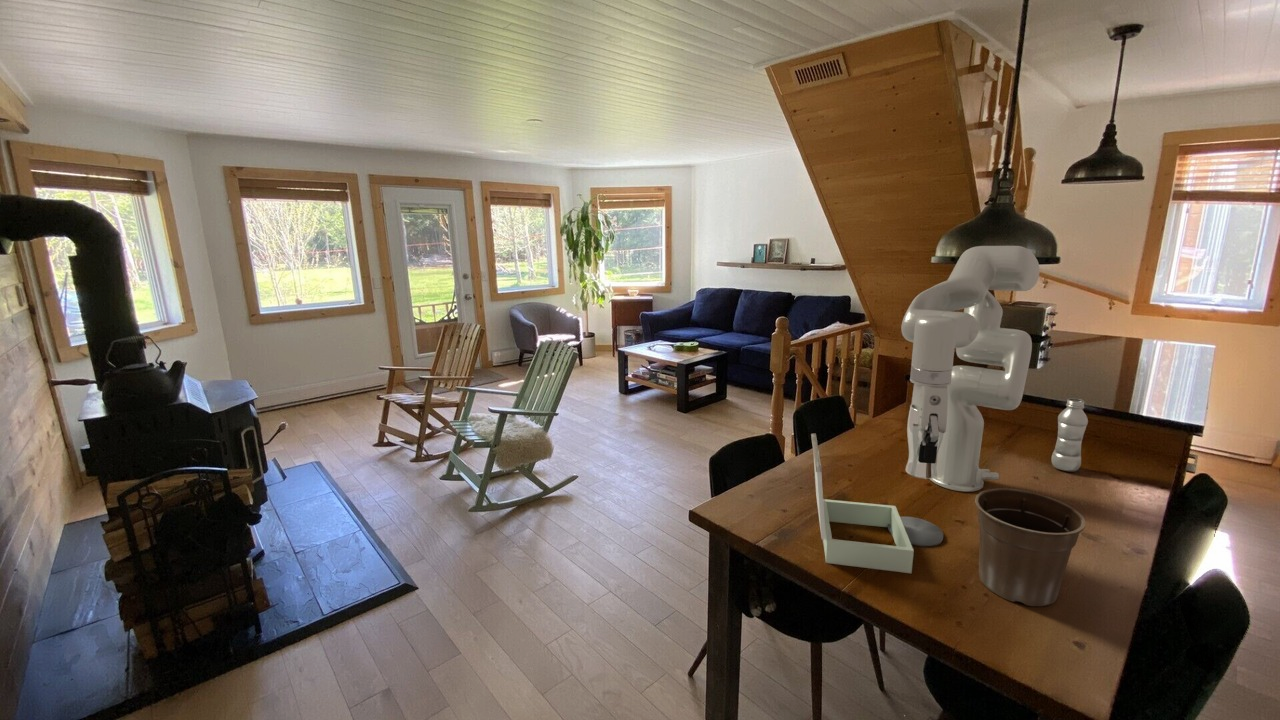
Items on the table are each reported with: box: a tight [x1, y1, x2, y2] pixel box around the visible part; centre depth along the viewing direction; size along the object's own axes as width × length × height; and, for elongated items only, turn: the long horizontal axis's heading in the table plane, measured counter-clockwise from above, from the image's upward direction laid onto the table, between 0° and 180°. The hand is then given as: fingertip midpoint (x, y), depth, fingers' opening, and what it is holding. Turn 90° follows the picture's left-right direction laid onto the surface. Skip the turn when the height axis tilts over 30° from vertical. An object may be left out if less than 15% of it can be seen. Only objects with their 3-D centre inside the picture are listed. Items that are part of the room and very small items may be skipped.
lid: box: [810, 433, 826, 541], centre depth 115 cm, size 16×18×1 cm
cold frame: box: [822, 498, 915, 574], centre depth 115 cm, size 16×18×5 cm
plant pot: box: [974, 488, 1086, 607], centre depth 98 cm, size 16×16×16 cm
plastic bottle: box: [1051, 397, 1089, 472], centre depth 145 cm, size 6×7×20 cm
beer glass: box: [904, 403, 944, 480], centre depth 114 cm, size 7×7×15 cm
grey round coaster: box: [887, 516, 944, 547], centre depth 119 cm, size 11×11×1 cm
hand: (922, 455), depth 114 cm, fingers closed on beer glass, 6 cm apart
